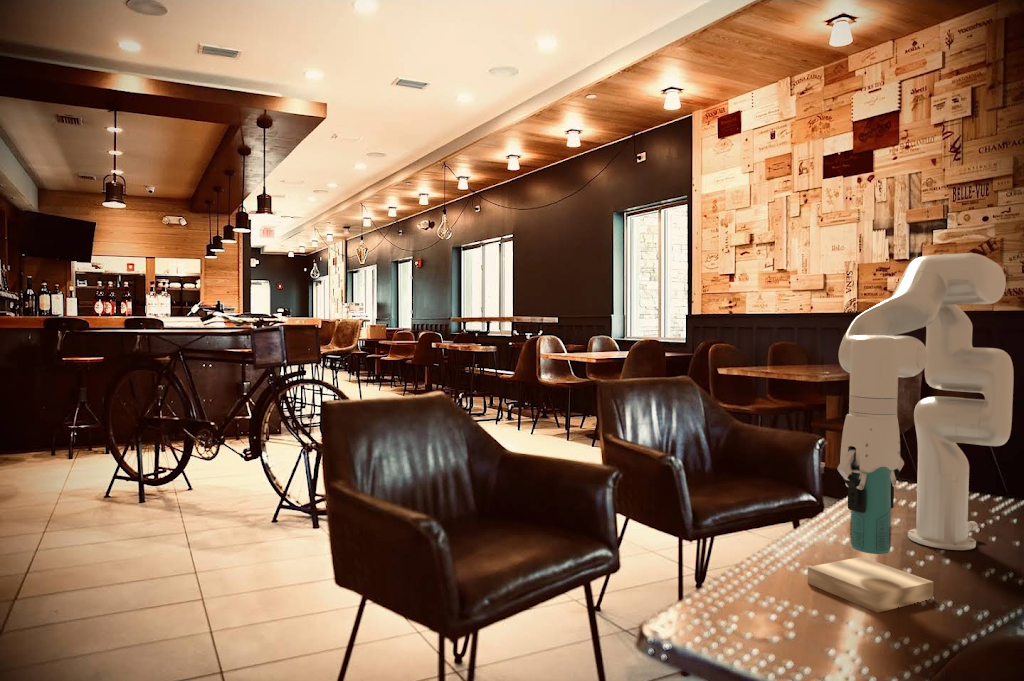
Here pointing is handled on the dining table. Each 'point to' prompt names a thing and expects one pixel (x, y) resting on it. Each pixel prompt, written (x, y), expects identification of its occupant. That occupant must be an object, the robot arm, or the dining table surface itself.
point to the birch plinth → (870, 583)
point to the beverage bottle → (874, 515)
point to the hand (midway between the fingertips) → (870, 507)
